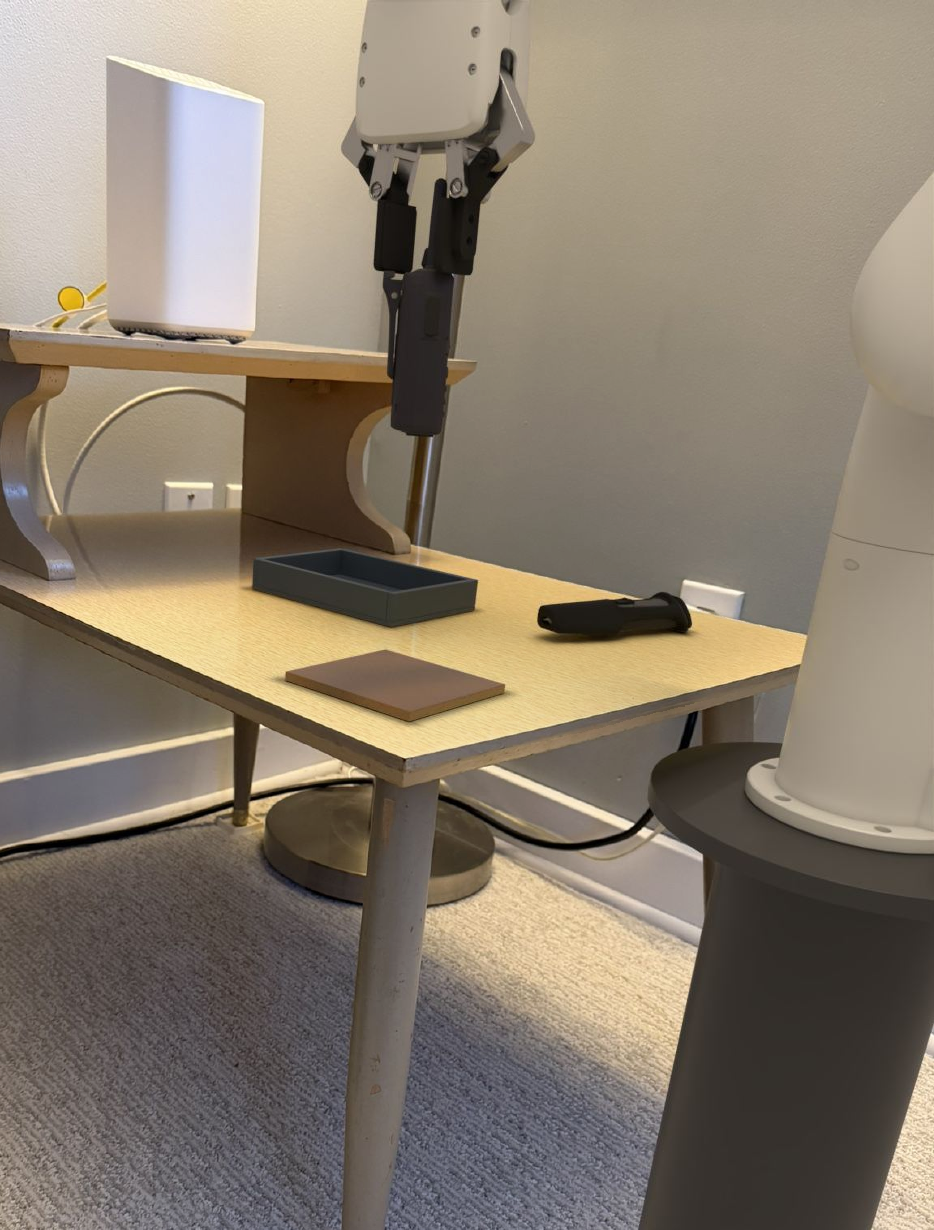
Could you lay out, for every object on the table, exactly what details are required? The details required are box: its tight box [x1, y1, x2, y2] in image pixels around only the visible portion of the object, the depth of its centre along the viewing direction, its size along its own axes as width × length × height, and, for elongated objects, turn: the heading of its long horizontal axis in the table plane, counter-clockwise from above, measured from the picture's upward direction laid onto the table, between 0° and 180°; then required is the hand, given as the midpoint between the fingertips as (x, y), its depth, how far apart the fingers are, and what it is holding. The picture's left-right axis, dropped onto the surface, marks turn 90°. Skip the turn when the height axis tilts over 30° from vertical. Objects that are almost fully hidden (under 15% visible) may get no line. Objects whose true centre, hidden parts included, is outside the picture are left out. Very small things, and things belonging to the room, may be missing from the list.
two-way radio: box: [382, 177, 455, 438], centre depth 74 cm, size 6×4×15 cm
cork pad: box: [284, 648, 506, 722], centre depth 74 cm, size 10×10×1 cm
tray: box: [251, 547, 479, 628], centre depth 97 cm, size 15×11×3 cm
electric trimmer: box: [536, 591, 693, 637], centre depth 92 cm, size 4×16×3 cm, turn 123°
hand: (422, 269), depth 73 cm, fingers closed on two-way radio, 4 cm apart
